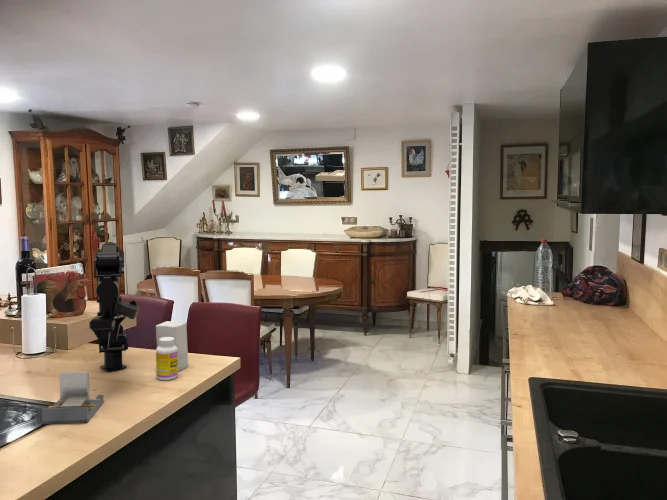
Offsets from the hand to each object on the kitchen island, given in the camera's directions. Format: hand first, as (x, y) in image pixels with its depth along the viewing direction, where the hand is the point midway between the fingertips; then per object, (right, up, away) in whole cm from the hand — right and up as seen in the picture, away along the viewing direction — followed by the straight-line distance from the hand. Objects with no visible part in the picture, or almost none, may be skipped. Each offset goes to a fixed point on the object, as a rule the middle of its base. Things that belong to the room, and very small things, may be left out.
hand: (110, 344), depth 161 cm
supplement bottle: (+14, -13, +10) cm, 21 cm away
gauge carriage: (-2, -14, -19) cm, 24 cm away
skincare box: (+13, -12, +19) cm, 26 cm away
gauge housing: (-2, -15, -20) cm, 25 cm away
